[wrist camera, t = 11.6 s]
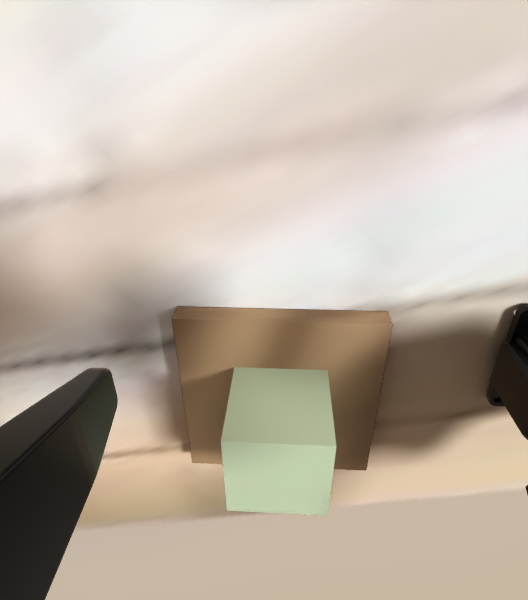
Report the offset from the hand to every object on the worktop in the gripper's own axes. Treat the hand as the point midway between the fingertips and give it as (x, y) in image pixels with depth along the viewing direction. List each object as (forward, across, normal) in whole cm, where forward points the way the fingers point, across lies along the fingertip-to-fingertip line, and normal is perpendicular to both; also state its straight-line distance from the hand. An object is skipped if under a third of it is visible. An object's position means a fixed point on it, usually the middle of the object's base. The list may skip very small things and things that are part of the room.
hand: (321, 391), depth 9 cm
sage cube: (+11, +1, +11) cm, 15 cm away
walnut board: (+12, +1, +11) cm, 16 cm away
